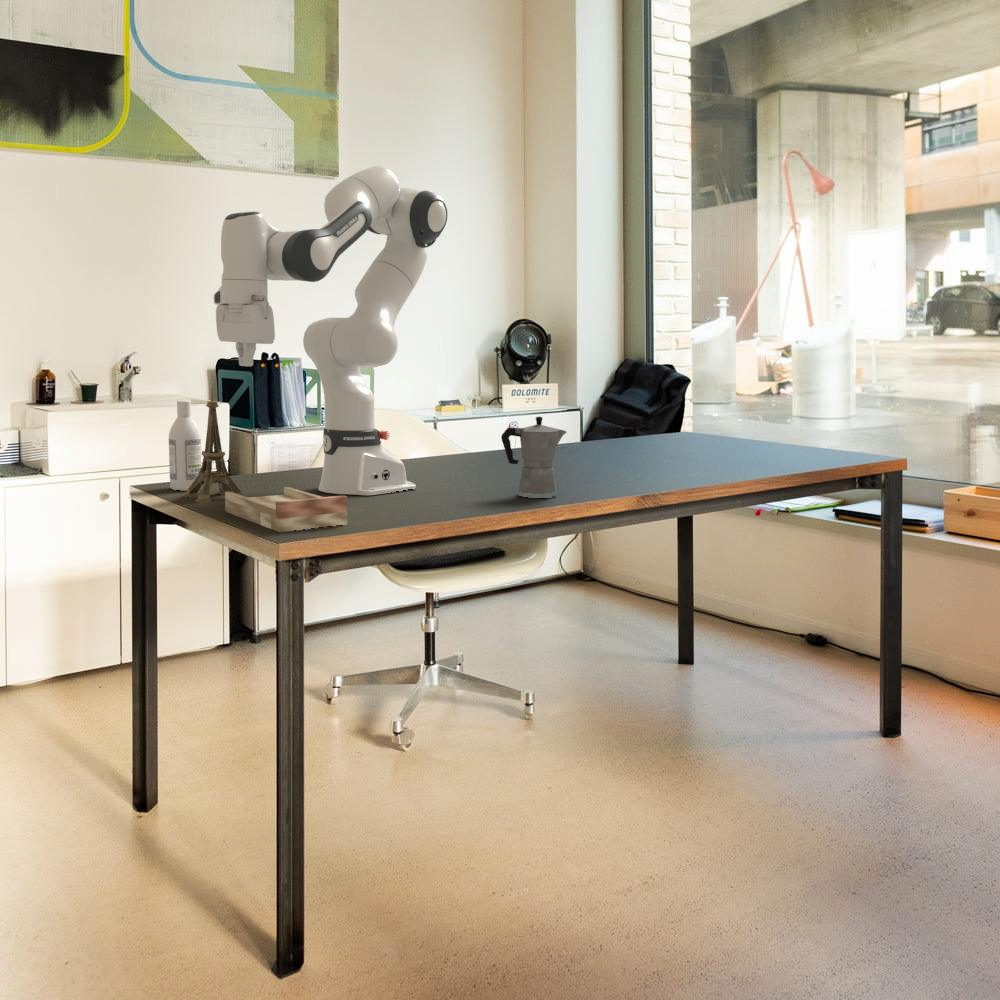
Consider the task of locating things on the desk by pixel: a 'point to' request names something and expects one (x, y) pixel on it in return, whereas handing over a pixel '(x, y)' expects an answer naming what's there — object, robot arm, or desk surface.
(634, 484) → the desk surface
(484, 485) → the desk surface
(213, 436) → the eiffel tower
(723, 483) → the desk surface
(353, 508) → the desk surface
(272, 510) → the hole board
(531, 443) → the coffeepot
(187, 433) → the bath foam
